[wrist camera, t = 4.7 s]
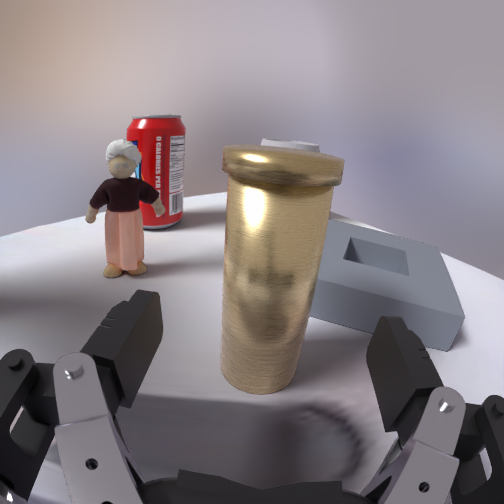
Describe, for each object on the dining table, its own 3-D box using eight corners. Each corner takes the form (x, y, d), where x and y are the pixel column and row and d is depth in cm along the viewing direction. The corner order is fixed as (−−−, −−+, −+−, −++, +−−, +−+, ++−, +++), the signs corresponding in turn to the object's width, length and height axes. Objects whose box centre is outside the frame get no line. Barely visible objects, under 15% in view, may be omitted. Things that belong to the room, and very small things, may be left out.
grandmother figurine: (96, 286, 24) (81, 144, 19) (92, 268, 27) (80, 142, 22) (171, 270, 28) (171, 137, 23) (160, 254, 31) (158, 135, 26)
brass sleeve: (200, 377, 17) (199, 148, 11) (239, 329, 21) (253, 143, 16) (283, 410, 15) (334, 166, 9) (309, 353, 19) (350, 158, 14)
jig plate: (269, 303, 25) (274, 267, 23) (313, 242, 38) (317, 216, 37) (447, 351, 19) (465, 317, 18) (429, 271, 33) (437, 246, 31)
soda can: (183, 231, 38) (187, 114, 32) (124, 233, 36) (122, 116, 30) (182, 213, 45) (185, 115, 38) (132, 214, 43) (132, 116, 36)
